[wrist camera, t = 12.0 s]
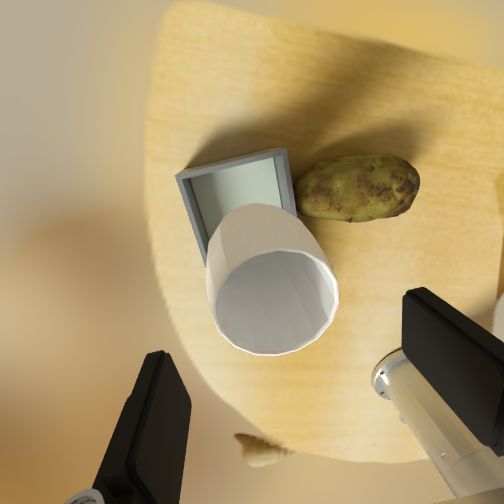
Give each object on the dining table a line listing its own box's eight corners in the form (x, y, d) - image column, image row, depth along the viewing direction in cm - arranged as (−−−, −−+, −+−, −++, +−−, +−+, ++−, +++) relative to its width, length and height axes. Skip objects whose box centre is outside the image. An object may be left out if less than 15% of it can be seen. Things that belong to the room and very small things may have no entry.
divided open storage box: (300, 299, 39) (313, 324, 33) (230, 316, 39) (231, 345, 33) (274, 147, 30) (286, 148, 24) (183, 169, 30) (175, 175, 24)
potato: (297, 137, 30) (323, 136, 22) (394, 158, 32) (445, 163, 25) (281, 206, 33) (298, 225, 26) (370, 221, 35) (409, 242, 28)
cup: (244, 245, 33) (275, 384, 14) (200, 208, 30) (166, 316, 12) (284, 204, 31) (379, 298, 13) (241, 162, 29) (279, 199, 10)
